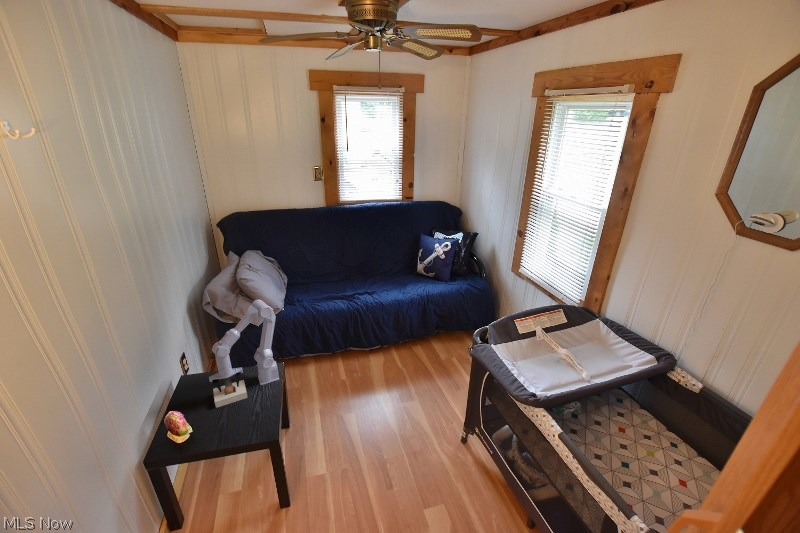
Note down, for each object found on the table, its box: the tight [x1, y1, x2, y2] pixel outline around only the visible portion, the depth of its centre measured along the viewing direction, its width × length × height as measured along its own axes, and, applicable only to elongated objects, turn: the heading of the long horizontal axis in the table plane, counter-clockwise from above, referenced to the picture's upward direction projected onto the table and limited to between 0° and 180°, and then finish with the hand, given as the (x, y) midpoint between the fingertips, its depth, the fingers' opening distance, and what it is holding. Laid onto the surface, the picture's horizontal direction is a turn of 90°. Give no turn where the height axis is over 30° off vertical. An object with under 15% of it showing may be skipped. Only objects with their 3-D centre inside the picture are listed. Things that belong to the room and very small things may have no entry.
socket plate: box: [212, 379, 248, 409], centre depth 179 cm, size 14×10×4 cm
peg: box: [223, 378, 234, 395], centre depth 178 cm, size 3×3×9 cm
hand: (229, 388), depth 177 cm, fingers open, 7 cm apart
